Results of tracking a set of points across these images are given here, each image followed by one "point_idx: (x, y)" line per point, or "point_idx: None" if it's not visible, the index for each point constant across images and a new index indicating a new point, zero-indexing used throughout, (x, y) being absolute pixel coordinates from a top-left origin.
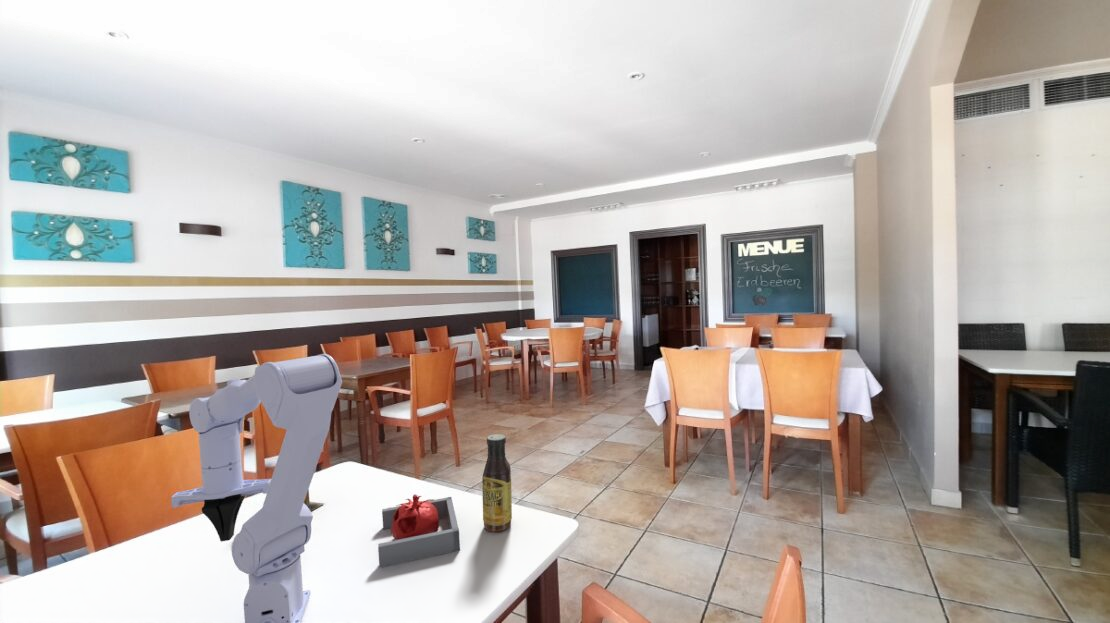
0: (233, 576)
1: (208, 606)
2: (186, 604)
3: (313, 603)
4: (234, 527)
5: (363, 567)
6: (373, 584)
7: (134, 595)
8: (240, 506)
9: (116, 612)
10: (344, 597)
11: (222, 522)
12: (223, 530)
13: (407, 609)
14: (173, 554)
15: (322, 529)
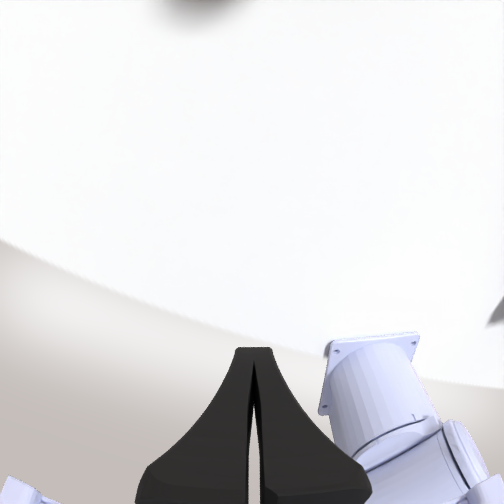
0: (234, 196)
1: (224, 310)
2: (167, 285)
3: (417, 356)
4: (276, 365)
5: (497, 278)
6: (491, 331)
7: (35, 203)
8: (320, 432)
9: (43, 257)
10: (455, 352)
11: (248, 446)
12: (251, 418)
13: (493, 382)
14: (31, 35)
15: (427, 27)
